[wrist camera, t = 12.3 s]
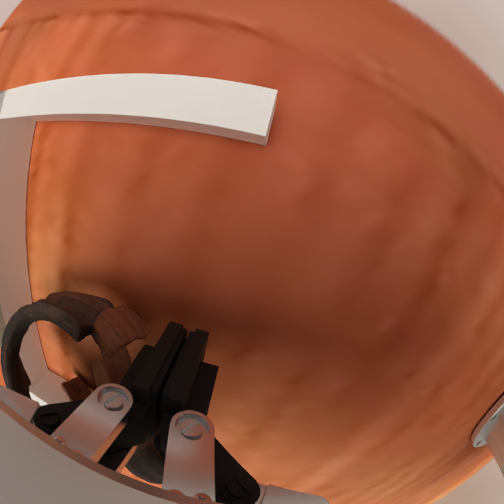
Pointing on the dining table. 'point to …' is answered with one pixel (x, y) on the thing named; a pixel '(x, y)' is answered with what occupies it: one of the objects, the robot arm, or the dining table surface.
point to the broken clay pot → (104, 370)
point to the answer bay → (102, 110)
